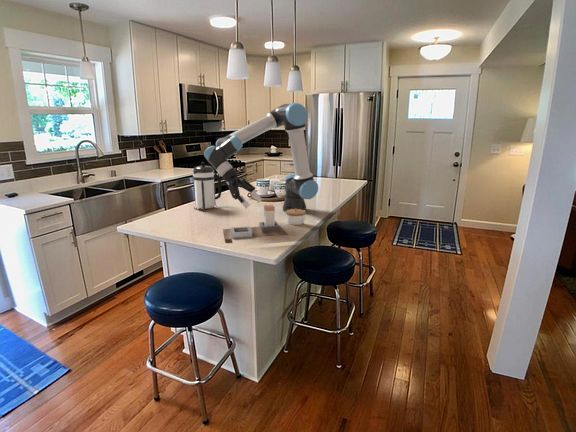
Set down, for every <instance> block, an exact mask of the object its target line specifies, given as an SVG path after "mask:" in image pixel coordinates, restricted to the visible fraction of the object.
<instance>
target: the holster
mask: <svg viewBox="0 0 576 432" xmlns="http://www.w3.org/2000/svg"><path fill="white" fill-rule="evenodd" d="M258 224H259V226H258V227H260V229H261V231H262V232H273V231H280V226H279V225H280V224H279V223H278V222H277V221H276V220H275V226H265V227H264V221H260V222H259V223H258Z"/></svg>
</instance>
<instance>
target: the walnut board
mask: <svg viewBox="0 0 576 432" xmlns="http://www.w3.org/2000/svg"><path fill="white" fill-rule="evenodd" d="M279 226H280V231H273V232H262V231H261V229H260V227H259V226H250V228H251V230H252V237H248V238H247V239H251V238H264V237H275V236H277V237H279V236H288V233H287V231H286V230H285V229H284V227H283V226H282V225H281V224H279ZM222 232H223V238H224V243H232V242H233V239H232V236H231V232H230V228H222ZM235 239H240V238H235ZM235 239H234V240H235Z"/></svg>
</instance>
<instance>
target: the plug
mask: <svg viewBox="0 0 576 432" xmlns="http://www.w3.org/2000/svg"><path fill="white" fill-rule="evenodd" d="M275 210H276V209H275V205H273V204H265V205H263V218H264V220H263V222H264V227H265V226H275V221H276V220H275V218H276V217H275V216H276V215H275Z"/></svg>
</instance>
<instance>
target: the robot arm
mask: <svg viewBox="0 0 576 432" xmlns="http://www.w3.org/2000/svg"><path fill="white" fill-rule="evenodd" d="M307 119H308V111H307V109H306V107H305V106H304V105H303V104H301V103H298V102H297V103H296V102H291V103H284V104H281V105H279V106H278V107H275V108H274V109H273V110H271V111H270V112H268V113H267V114H266V115H265V116H262V117H261V118H260V119H258V120H256V121H254V122H252V123H250V124H248V125H246V126H243V127H242V128H240V129H237V130H236V131H233V132H232V133H230V134H228V135H226V136H223V137H220V138H218V139H217V140H216V142H215V145H211V146H209V147H207V148H206V149H204V152H203V156H204V158H205V159H206V160H207V162H208V163H209V164H210V165H211V167H212V168H213V170H214V171H216V172H217V173H218V175H219V176H220V177H222V179H223V181H225V185H226V186H227V189H228V191H229V193H230V195H231V197H232V198H233V199H234V200H238V201H239V203H241V205H242V206H243V207H244V208H245V209H246V210H247V209H248V208H249V207H250V205H251V204H250V203H249V201H247V200H246V198H245V197H244V195H242V194H241V193H240V189H241V188H242V189H243V190H246V191H247V192H249V193H250V195H251V197H253V199H254V200H255V201H256V202H257V203H258V204H259V203H260V202H261V201H263V199H262V197H261V196H260V195H259V194H258V193H257V191H256V187H255V186H254V185H252V184H251V183H250V182H249V181H248V180H247V179H245V178H244V177H243V176H240V177H238V172H237V170H236V169H235V168H233V165H231V163H230V162H229V161H228V160H227V159H229V158H230V157H232V156H233V155H235V154H236V153H237V152H239V151H240V150H241V149H242V148H243V144H245V143H246V142H248V141H250V140H252V139H254V138H256V137H258V136H260V135H261V134H263V133H265V132H268V131H269V130H271V129H277V128H280V127H282V126H284V131H285V132H287V134H288V139H289V143H290V150H291V151H290V152H291V157H292V162H293V167H294V168H293V169H294V173H289V174H287V175H285V180H284V181H285V187H284V189H285V195H284V196H285V198H284V201H283V205H282V211H283V210H284V211H283V212H285V211H287V210H291V209H295V208H297V209H300V210H306V211H307V205H306V201H305V200H311V199H313V198H314V197H316V195H317V194H318V192H319V185H318V183H317V182H316V181H315V179H314V173H312V172H311V170H310V164H309V157H308V151H307V144H306V137H305V132H304V130H305V129H306V128H307V127H306V126H307V125H306V122H307V121H308V120H307Z"/></svg>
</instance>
